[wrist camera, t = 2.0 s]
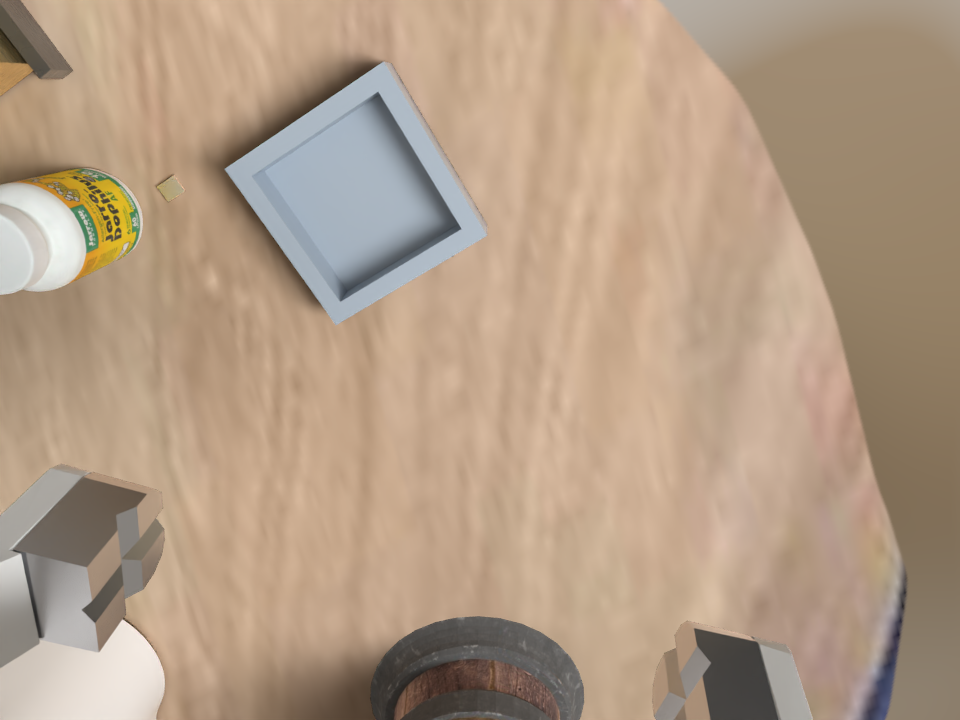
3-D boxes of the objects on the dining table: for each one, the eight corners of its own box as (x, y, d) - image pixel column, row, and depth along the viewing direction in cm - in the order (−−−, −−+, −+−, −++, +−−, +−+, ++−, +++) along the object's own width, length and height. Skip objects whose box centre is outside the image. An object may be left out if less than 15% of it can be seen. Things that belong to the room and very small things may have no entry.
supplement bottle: (33, 197, 39) (-103, 229, 30) (103, 148, 38) (-15, 166, 29) (97, 276, 40) (-13, 329, 32) (166, 231, 39) (72, 273, 31)
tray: (346, 309, 41) (335, 325, 38) (243, 163, 38) (224, 168, 35) (487, 225, 39) (487, 235, 36) (391, 63, 36) (383, 61, 33)
